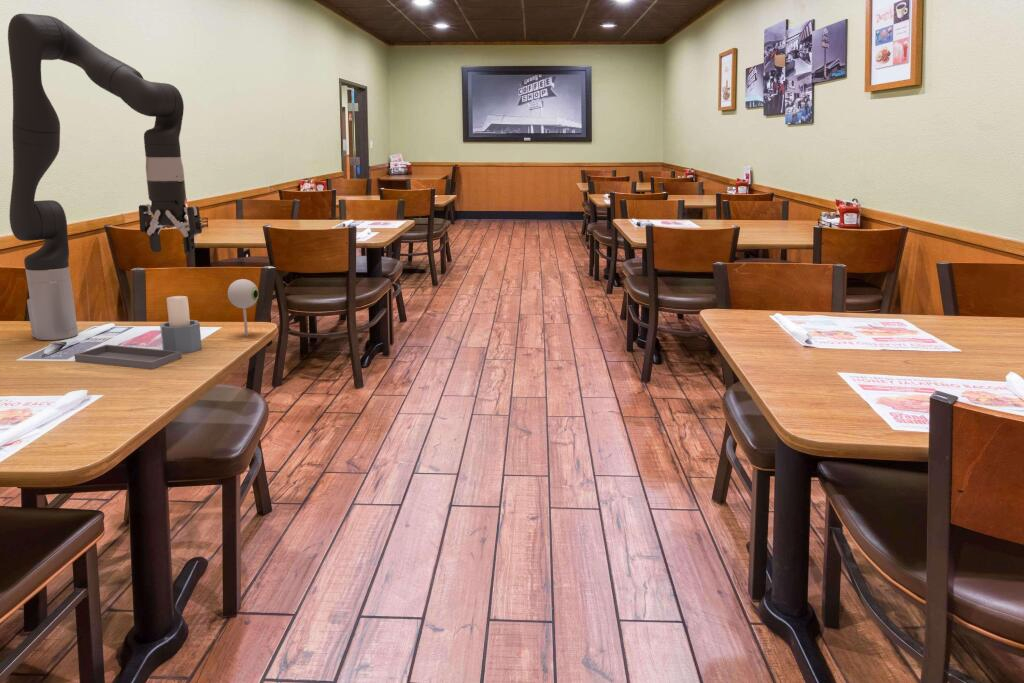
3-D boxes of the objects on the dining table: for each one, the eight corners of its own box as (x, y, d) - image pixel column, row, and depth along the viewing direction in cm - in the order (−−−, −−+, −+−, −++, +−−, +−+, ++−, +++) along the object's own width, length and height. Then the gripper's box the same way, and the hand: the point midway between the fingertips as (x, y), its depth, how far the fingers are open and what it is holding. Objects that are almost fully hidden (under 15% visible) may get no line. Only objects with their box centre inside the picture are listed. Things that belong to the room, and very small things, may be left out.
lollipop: (252, 343, 187) (247, 282, 183) (225, 341, 189) (220, 281, 185) (267, 336, 194) (262, 277, 190) (241, 334, 195) (236, 276, 192)
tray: (75, 365, 167) (74, 354, 167) (107, 355, 176) (106, 344, 175) (153, 373, 162) (151, 362, 162) (182, 362, 171) (180, 351, 170)
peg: (167, 350, 176) (162, 299, 173) (180, 346, 180) (175, 295, 177) (183, 352, 175) (178, 300, 172) (196, 347, 179) (191, 296, 176)
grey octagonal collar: (155, 356, 175) (152, 326, 174) (179, 347, 183) (176, 318, 181) (185, 359, 173) (182, 328, 171) (208, 350, 181) (206, 321, 179)
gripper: (125, 178, 167) (134, 253, 171) (181, 180, 163) (189, 256, 167) (150, 177, 174) (157, 249, 178) (204, 178, 170) (211, 252, 174)
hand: (173, 252), depth 172 cm, fingers open, 8 cm apart
